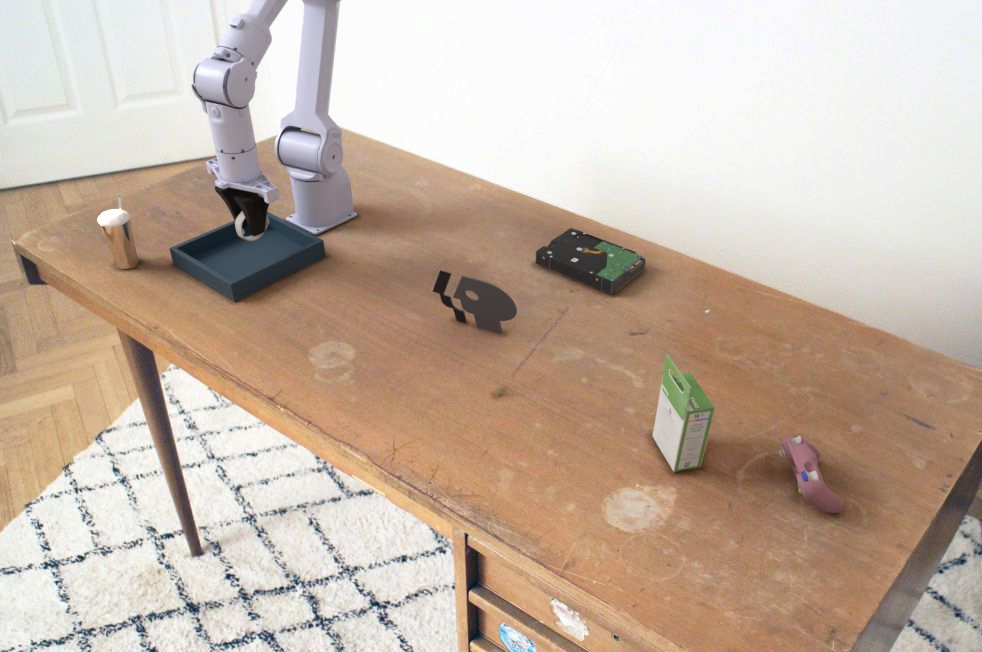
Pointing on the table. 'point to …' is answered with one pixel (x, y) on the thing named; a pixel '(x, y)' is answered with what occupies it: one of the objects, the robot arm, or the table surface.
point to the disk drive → (590, 260)
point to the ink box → (682, 419)
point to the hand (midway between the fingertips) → (251, 229)
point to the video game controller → (809, 474)
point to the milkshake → (119, 236)
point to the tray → (247, 257)
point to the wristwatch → (241, 231)
